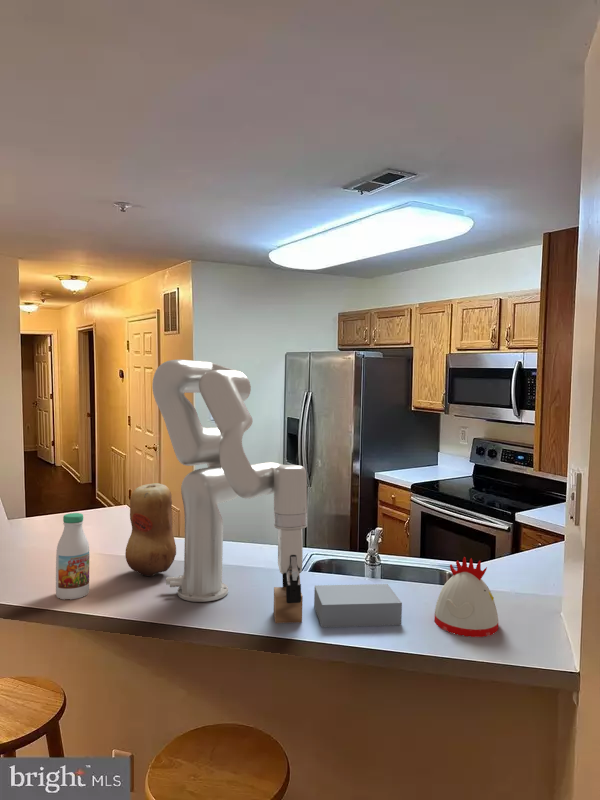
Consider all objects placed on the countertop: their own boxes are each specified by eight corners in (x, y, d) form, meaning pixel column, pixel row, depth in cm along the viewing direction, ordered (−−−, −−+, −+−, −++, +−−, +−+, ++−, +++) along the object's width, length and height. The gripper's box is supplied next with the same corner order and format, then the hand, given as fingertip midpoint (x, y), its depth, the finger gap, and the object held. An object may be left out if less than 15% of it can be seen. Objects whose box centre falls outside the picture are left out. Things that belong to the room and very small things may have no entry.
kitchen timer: (489, 643, 119) (491, 572, 118) (425, 627, 126) (427, 560, 126) (504, 620, 131) (506, 555, 130) (445, 606, 138) (447, 545, 138)
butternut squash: (114, 579, 152) (115, 486, 151) (141, 564, 165) (142, 479, 164) (161, 585, 148) (162, 490, 148) (185, 569, 161) (186, 482, 161)
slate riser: (321, 627, 125) (322, 604, 125) (314, 606, 137) (314, 585, 136) (401, 625, 127) (401, 602, 127) (387, 604, 139) (387, 584, 138)
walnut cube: (275, 623, 126) (275, 596, 126) (273, 612, 132) (273, 587, 132) (302, 622, 127) (302, 596, 127) (299, 612, 133) (299, 586, 133)
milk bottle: (48, 597, 139) (49, 516, 138) (72, 587, 146) (72, 509, 145) (73, 602, 136) (73, 519, 135) (95, 591, 143) (96, 513, 142)
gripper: (271, 512, 137) (272, 583, 137) (276, 529, 120) (277, 609, 120) (302, 511, 138) (303, 581, 138) (312, 527, 121) (313, 608, 121)
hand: (291, 594), depth 129 cm, fingers open, 9 cm apart
